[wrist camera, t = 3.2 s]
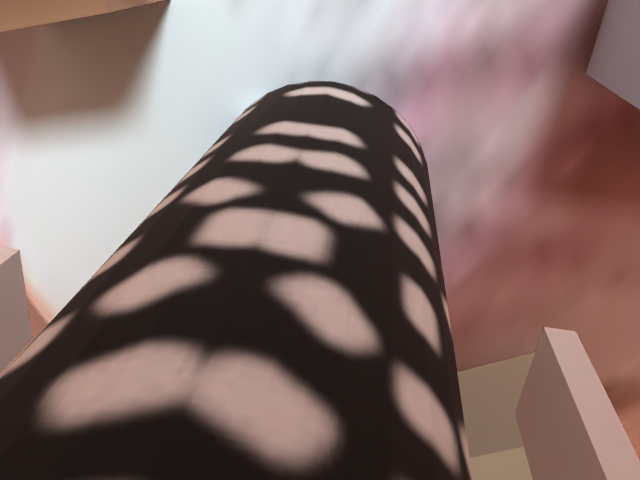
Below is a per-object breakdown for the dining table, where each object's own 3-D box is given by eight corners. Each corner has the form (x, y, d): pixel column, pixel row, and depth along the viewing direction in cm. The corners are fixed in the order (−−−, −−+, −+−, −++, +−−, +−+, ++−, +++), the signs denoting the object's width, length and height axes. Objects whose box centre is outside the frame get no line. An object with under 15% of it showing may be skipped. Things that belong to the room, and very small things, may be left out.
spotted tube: (338, 30, 20) (-131, 722, 2) (472, 209, 22) (773, 1235, 5) (174, 168, 23) (-573, 921, 5) (307, 312, 25) (104, 1166, 8)
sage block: (447, 373, 26) (458, 460, 22) (560, 344, 25) (597, 430, 20) (480, 450, 28) (497, 546, 23) (587, 427, 27) (626, 524, 22)
